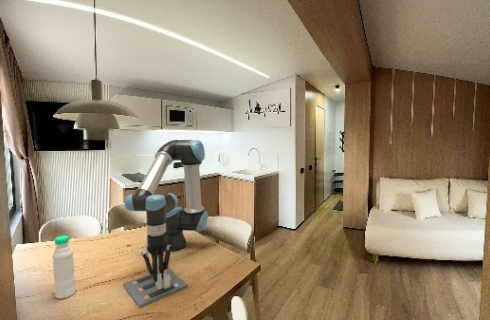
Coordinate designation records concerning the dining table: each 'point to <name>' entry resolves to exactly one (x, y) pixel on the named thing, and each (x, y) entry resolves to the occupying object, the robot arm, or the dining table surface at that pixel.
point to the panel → (152, 288)
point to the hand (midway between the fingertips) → (158, 287)
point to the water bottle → (63, 268)
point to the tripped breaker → (166, 282)
